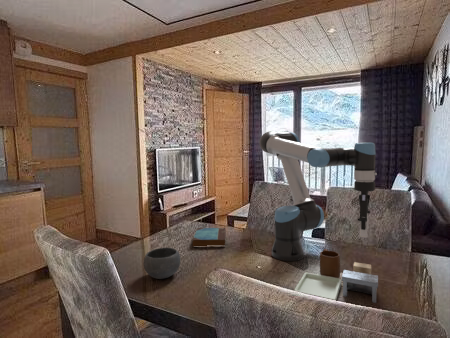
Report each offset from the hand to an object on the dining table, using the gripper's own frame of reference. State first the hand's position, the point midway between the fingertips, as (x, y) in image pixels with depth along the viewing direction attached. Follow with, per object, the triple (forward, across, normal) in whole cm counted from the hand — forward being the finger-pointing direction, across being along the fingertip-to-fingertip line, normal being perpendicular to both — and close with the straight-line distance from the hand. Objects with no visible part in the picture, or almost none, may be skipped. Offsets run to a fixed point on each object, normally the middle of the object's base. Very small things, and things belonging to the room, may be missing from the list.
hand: (364, 232), depth 116 cm
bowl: (+17, -38, +74) cm, 85 cm away
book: (+18, +8, +80) cm, 82 cm away
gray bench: (+16, -20, 0) cm, 26 cm away
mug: (+17, -8, +13) cm, 23 cm away
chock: (+17, -8, 0) cm, 19 cm away
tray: (+16, -23, +14) cm, 32 cm away
